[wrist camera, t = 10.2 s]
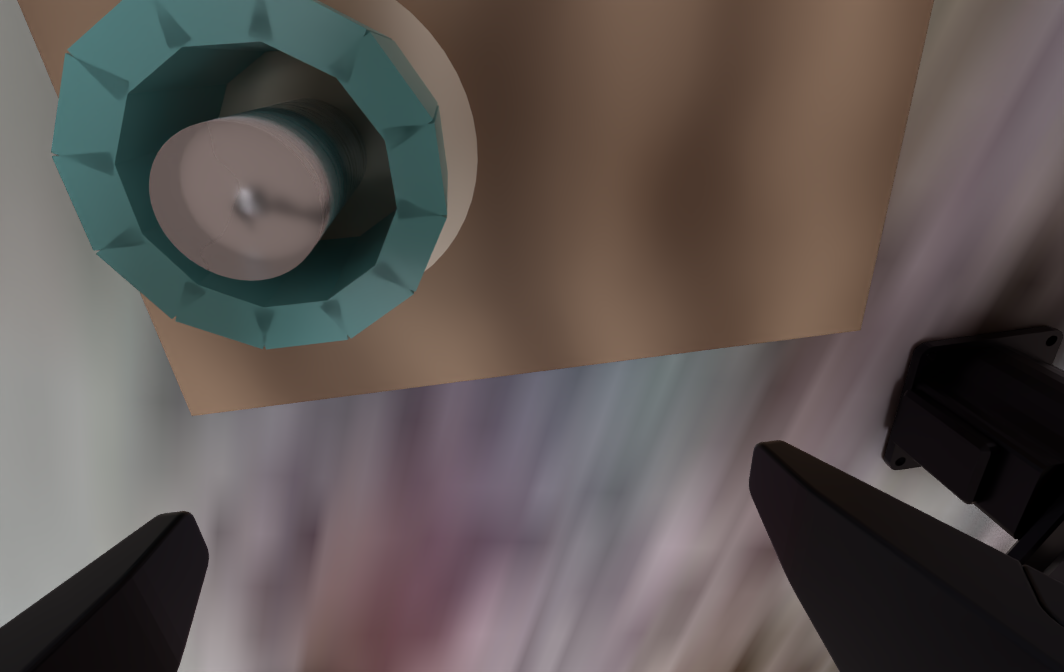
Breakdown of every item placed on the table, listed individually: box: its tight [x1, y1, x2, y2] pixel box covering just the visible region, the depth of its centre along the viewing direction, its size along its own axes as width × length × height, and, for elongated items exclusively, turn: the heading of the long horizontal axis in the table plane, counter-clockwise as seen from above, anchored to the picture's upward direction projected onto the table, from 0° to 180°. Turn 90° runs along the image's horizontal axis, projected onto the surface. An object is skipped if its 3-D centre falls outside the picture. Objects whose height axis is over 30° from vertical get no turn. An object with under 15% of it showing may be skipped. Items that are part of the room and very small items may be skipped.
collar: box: [51, 0, 448, 349], centre depth 13 cm, size 7×7×5 cm
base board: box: [17, 0, 934, 416], centre depth 17 cm, size 24×16×2 cm, turn 93°
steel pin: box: [149, 98, 367, 281], centre depth 13 cm, size 3×3×6 cm
